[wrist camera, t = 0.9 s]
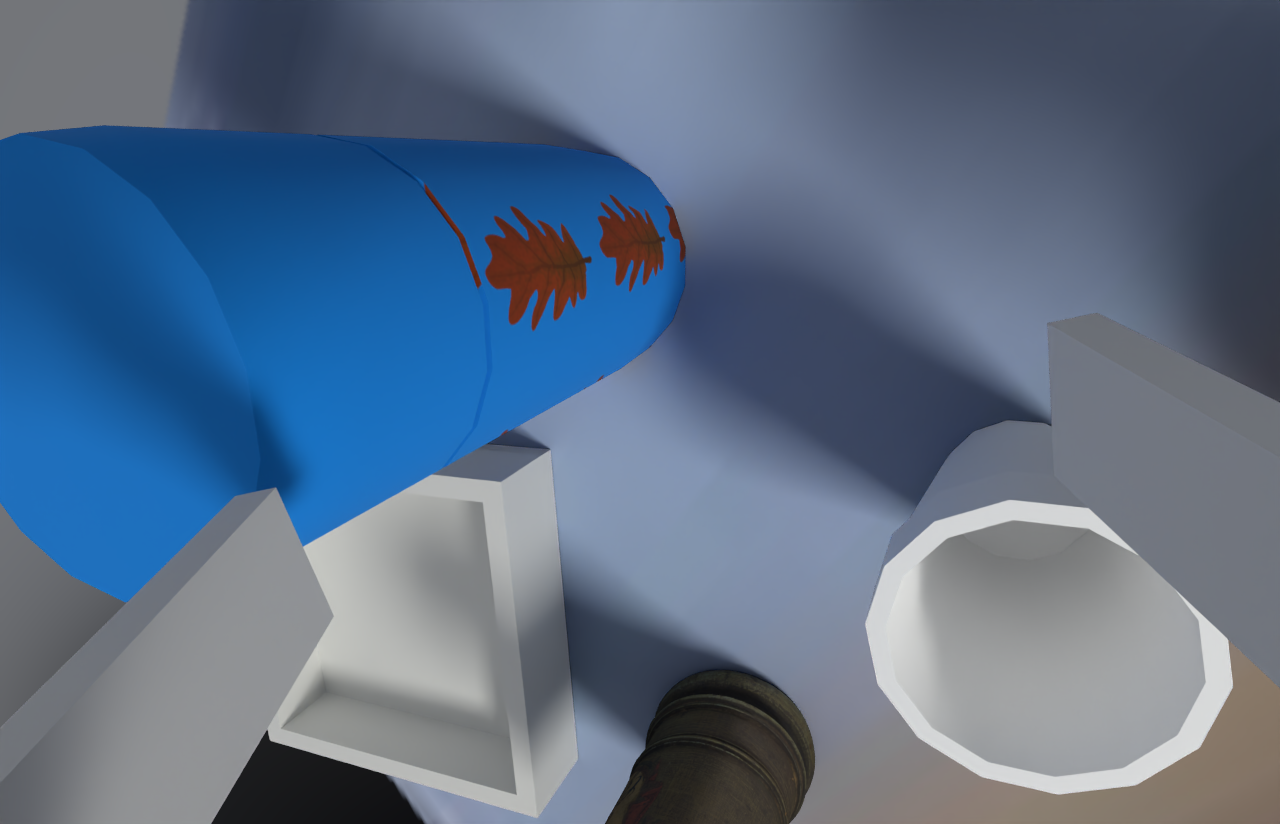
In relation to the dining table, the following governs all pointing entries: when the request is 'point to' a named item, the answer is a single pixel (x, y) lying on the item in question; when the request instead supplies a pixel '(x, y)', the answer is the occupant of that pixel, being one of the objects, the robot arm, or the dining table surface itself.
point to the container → (720, 756)
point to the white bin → (446, 637)
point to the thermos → (294, 320)
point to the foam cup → (1037, 629)
